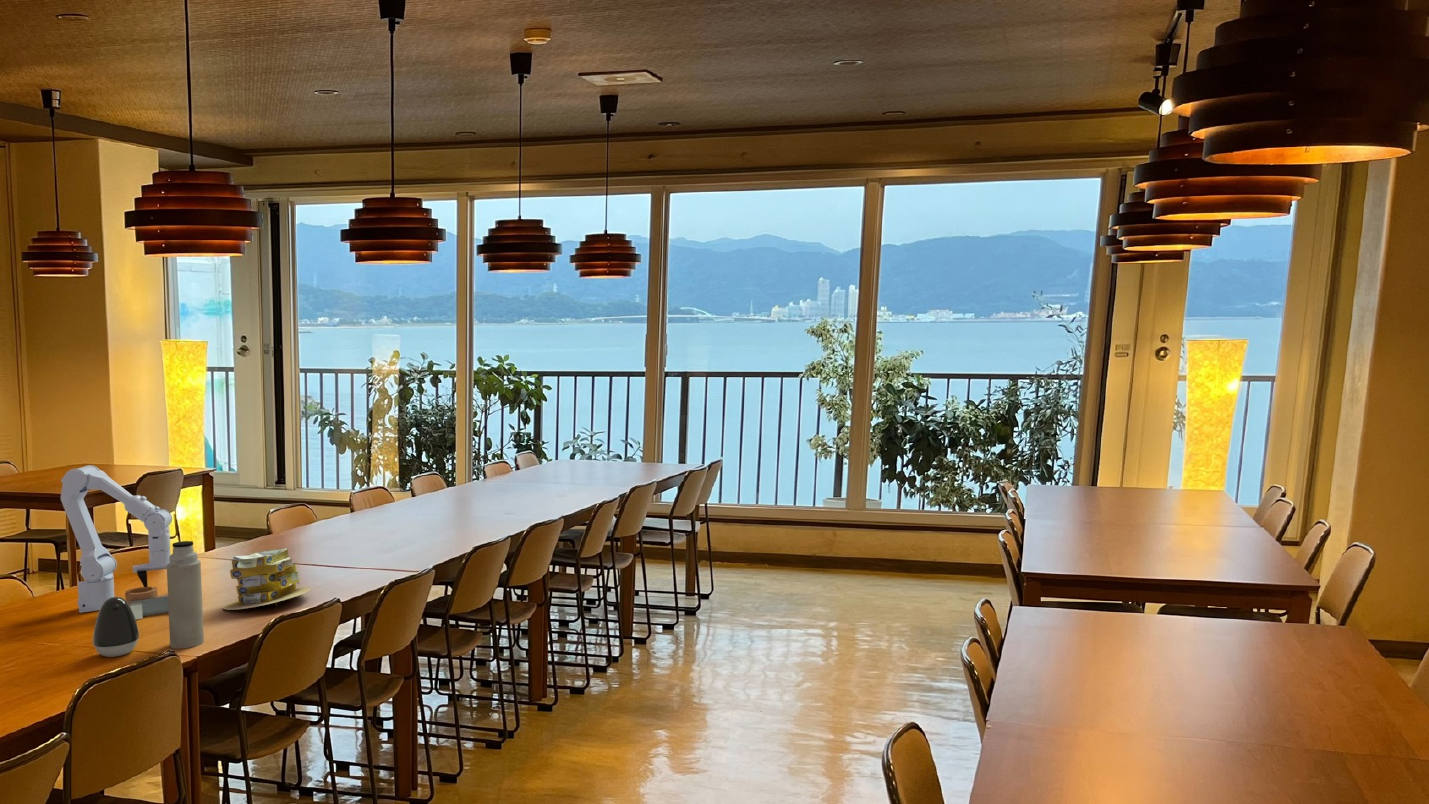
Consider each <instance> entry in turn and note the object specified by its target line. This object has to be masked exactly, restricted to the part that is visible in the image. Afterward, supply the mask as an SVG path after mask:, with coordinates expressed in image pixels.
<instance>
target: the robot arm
mask: <svg viewBox="0 0 1429 804" xmlns="http://www.w3.org/2000/svg"><path fill="white" fill-rule="evenodd" d="M60 481H61V483H62V486H61V491H60V492H61V493H60V502H61V503H62V507H63V509H64V511H65V514H66V516H67V518H68V521H69V524H70V526H71V529H72V531H73V533H74V537H75V538H76V541H77V544H78V547H79V548H80V551H81V555H80V559H79V563H80V567H81V568H80V573H81V576H82V578H83V579H85V580H83V581H78V582H77V592H78V593H77V596H78V598H77V599H78V600H77V607H78V613H79V614H80V613H81V614H82V613H88V612H97V611H100V608H101V607H102V605H103V603H104V602H105V601H106V600H107V599H109V598H112V597H115V581H114V572H115V571H116V569H117V568H118V567H117V566H118V563H117V560H116V559H115V557H114V556H112V555H111V553H110V550H109V549H108V548H106V547H104V546H103V545H102V542H101V539H100V537H99V535H98V532H97V529H96V528H95V525H94V522H93V520H92V517H91V514H90V512H89V509H88V507H87V505H86V502H85V500H84V498H85V497H86V496H87V494H88V493H89V490H99V491H102V492H104V493H105V494H107V495H109V496H111V497H112V498H113V499H115V500H117V501H118V502H120V503H122V504H123V506H124V510H125V511H126V512H128V513H129V514H131V516H134V518H136V519H138V520H139V521H141V522H142V523H143V525H144V527H145V529H146V530H147V532H148V534H147V535H148V538H147V539H148V557H149V558H148V559H149V563H143V564H139V565H132V573H133V574H137V577H138V579H139V580H140V582H141V584H142V587H149V586H148V572H151V571H158V570H159V571H160V570H167V564H168V563H170V561H169V556H170V555H171V534H170V525H171V524H172V521H173V517H172V514H171V512H169V511H168V509H163V508H161V507H160V506H157V505H154V504H153V503H152V502H150V501H149V500H147V499H148V497H146V495H145V496H144V495H140V494H139V495H138V494H137V495H133V494H131V493H130V492H129V491H128V490H126V489H125V488H124V487H122V486H121V485H120V484H119V483H117V482H116V481H114V480H113V478H111V477H109V475H108V474H107V473H106V472H105V471H103V470H101V469H100V468H98V467H97V466H95V465H93V464H92V465H91V464H89V465H84V466H82V467H78V468H72V469H69V470H68V471H66V473H65V474H64V475H63V477H62V478H61V480H60Z"/></svg>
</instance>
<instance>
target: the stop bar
mask: <svg viewBox="0 0 1429 804" xmlns="http://www.w3.org/2000/svg"><path fill="white" fill-rule="evenodd" d="M130 607H131V609H132V611H133V614H134V616H135V619H136V621H137V620H143V617H148V616H154V615H155V616H156V615H161V614H163V615H164V614H169V608H168V596H161V597H153V598H146V599H138V600H130Z"/></svg>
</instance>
